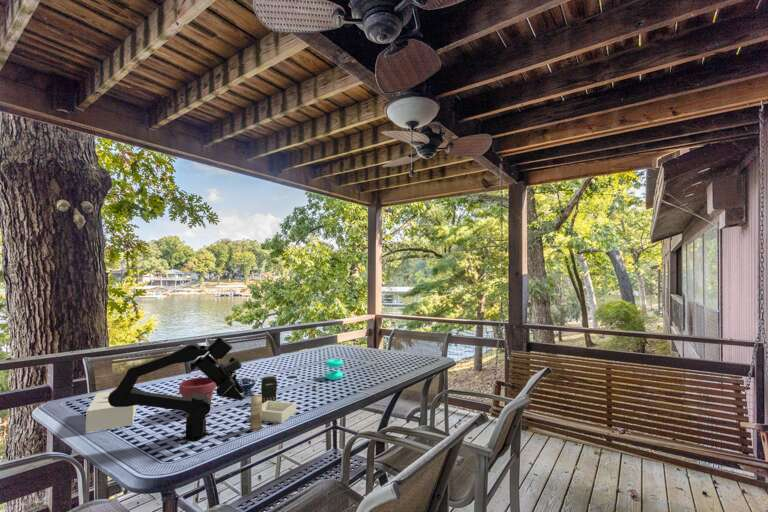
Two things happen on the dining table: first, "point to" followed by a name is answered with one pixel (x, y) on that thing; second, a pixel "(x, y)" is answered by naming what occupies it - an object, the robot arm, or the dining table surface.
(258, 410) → the pin
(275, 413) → the tray
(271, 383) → the battery charger
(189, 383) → the plant pot
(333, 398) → the dining table surface
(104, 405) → the tissue box
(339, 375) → the teal hourglass-shaped piece
